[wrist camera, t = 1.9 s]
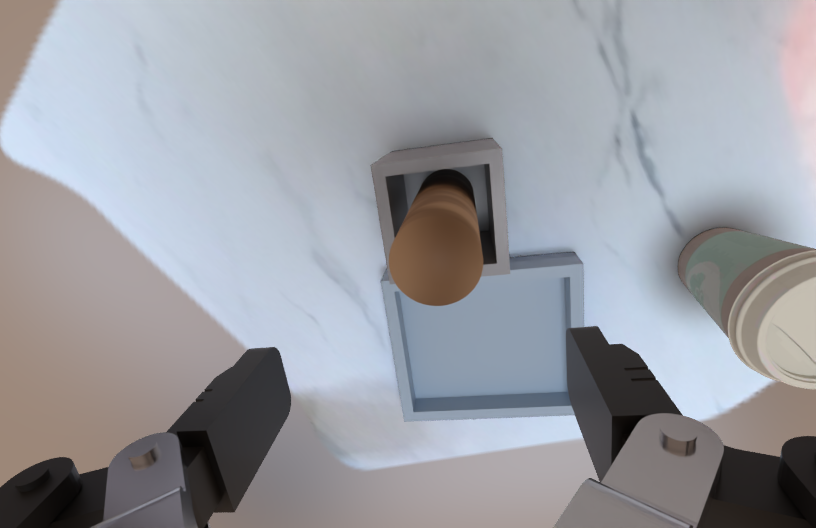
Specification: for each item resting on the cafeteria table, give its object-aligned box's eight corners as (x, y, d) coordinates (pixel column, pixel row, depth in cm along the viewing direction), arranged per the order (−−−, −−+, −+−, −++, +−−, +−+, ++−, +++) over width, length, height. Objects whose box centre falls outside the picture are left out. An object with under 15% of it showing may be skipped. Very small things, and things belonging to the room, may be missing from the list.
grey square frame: (492, 138, 35) (501, 148, 26) (499, 235, 37) (510, 274, 29) (391, 151, 36) (370, 165, 27) (405, 245, 38) (389, 284, 30)
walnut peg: (471, 165, 35) (479, 211, 20) (476, 220, 36) (486, 302, 21) (415, 172, 35) (381, 222, 20) (422, 226, 37) (395, 309, 22)
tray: (574, 251, 37) (583, 263, 34) (576, 393, 41) (584, 414, 39) (386, 268, 39) (380, 281, 37) (407, 401, 44) (404, 421, 41)
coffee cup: (653, 225, 36) (742, 281, 24) (772, 197, 34) (926, 243, 23) (665, 319, 38) (750, 408, 27) (776, 297, 36) (918, 383, 25)
